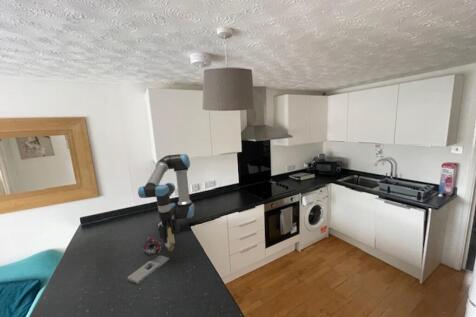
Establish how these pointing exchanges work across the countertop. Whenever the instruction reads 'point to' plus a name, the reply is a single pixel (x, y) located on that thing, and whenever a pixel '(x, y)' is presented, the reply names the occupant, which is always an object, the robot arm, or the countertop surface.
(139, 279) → the light grey flat block
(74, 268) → the countertop surface
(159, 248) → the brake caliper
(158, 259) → the lower link
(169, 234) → the pin
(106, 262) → the countertop surface
